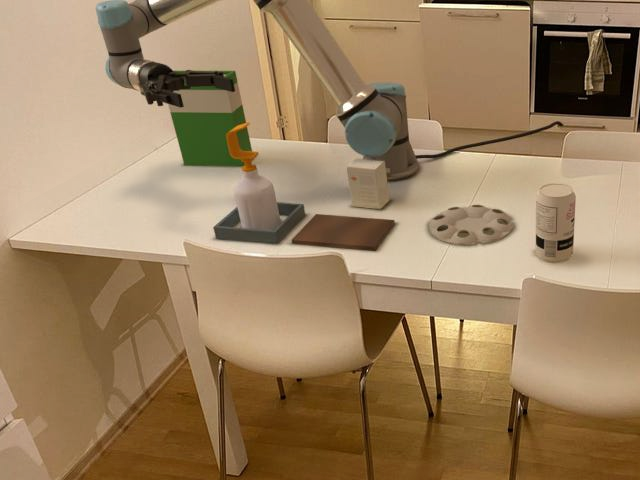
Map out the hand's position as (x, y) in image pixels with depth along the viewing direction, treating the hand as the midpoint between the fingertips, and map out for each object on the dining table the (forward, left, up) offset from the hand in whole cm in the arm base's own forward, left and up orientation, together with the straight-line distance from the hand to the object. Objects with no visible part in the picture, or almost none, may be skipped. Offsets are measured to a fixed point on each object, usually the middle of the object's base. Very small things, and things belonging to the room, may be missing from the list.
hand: (207, 93), depth 167 cm
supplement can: (-66, +45, -30) cm, 85 cm away
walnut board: (-24, +18, -30) cm, 42 cm away
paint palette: (-53, +25, -30) cm, 65 cm away
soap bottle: (-6, +8, -30) cm, 32 cm away
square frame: (-6, +8, -30) cm, 31 cm away
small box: (-33, +4, -30) cm, 44 cm away
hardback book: (+3, -41, -30) cm, 51 cm away
